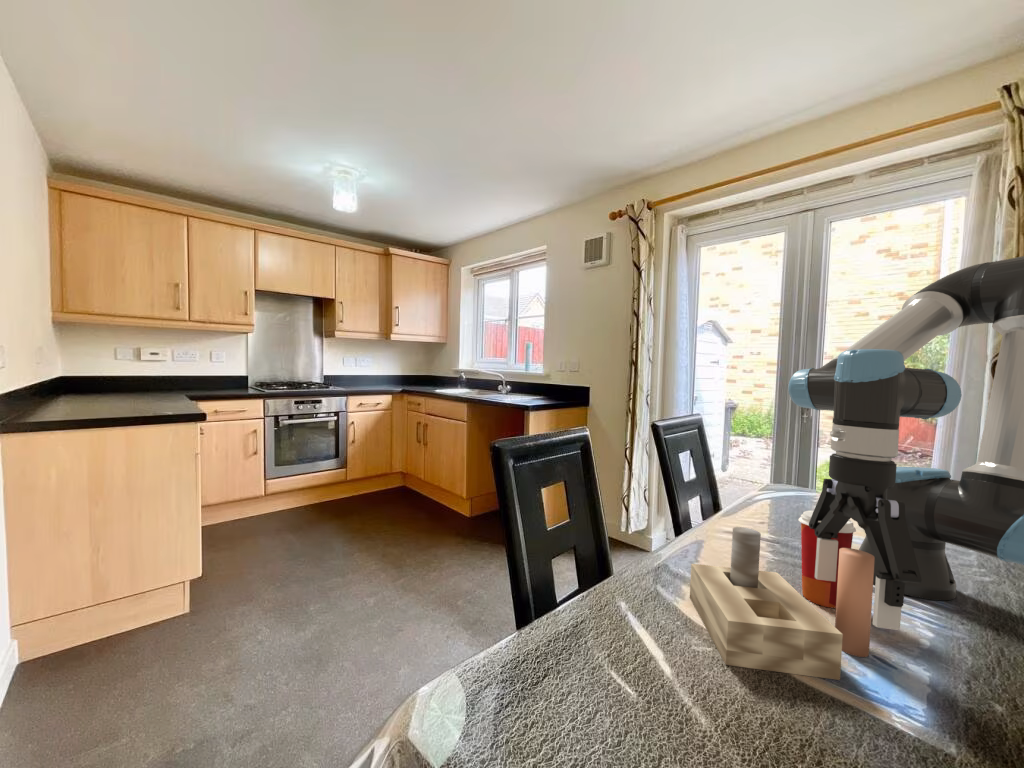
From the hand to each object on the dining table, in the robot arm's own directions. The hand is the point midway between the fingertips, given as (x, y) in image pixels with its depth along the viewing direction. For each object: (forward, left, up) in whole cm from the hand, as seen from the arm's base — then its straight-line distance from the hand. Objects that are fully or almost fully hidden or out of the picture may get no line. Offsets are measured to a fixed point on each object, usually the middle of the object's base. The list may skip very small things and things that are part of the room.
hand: (852, 601), depth 62 cm
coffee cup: (-4, -15, -7) cm, 17 cm away
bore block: (+13, -1, -7) cm, 15 cm away
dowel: (0, 0, -7) cm, 7 cm away
